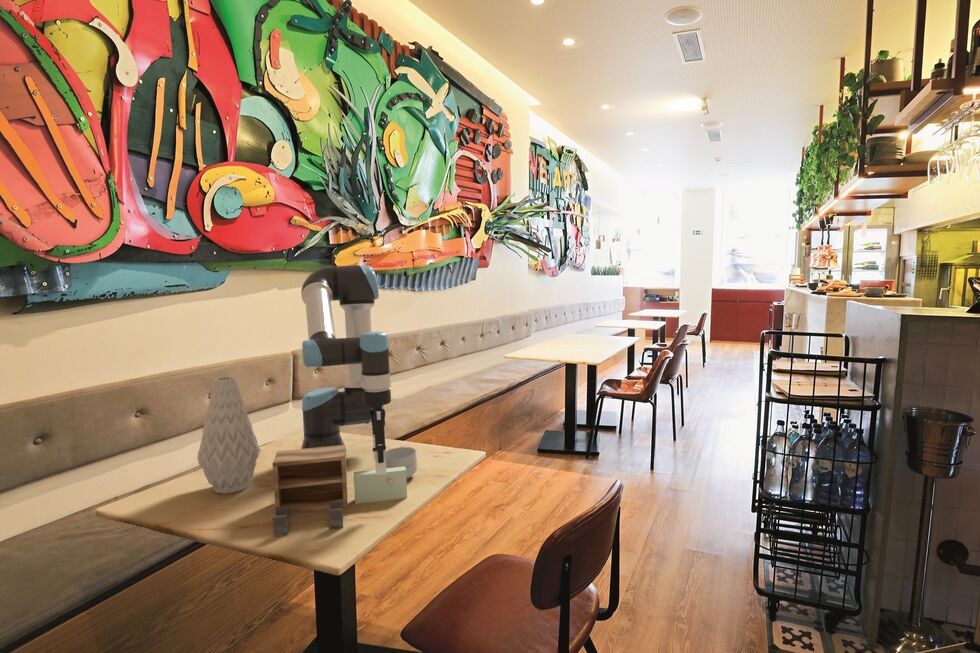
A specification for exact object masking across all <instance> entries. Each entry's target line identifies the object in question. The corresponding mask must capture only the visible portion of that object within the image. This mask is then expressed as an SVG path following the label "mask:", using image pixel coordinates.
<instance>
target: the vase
mask: <svg viewBox="0 0 980 653" xmlns="http://www.w3.org/2000/svg"><path fill="white" fill-rule="evenodd" d="M210 391H211V392H210V396H209V397H210V398H209V402H208V407H207V410H206V411H207V412H206V415H205V420H204V425H203V429H202V435H201V436H202V437H201V440H200V444H199V450H198V451H197V461H198V462H197V463H198V465H199V466H200V468H201V469H202V471H203V474H204V477H205V479H206V480H207V482H208V484H209V485H211V486H212V488H213V491H214V492H215V493H218V494H221V495H222V494H223V495H224V494H226V495H227V494H232V493H238V492H240V491H243V490H245V489H247V488H248V487H249V484H250V481H251V478H253V476H254V473H255V468H256V466H257V460H258V457H259V454H260V453H261V448H260V447H259V443H258V439H257V437H256V435H255V432H254V429H253V425H252V423H251V421H250V418H249V415H248V412H247V409H246V406H245V405H244V402H243V399H242V394H241V392H240V390H239V386H238V384H237V382H236V378H235V376H222V377H221V376H219V377H214V378H213V379H212V387H211V390H210Z"/></svg>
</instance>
